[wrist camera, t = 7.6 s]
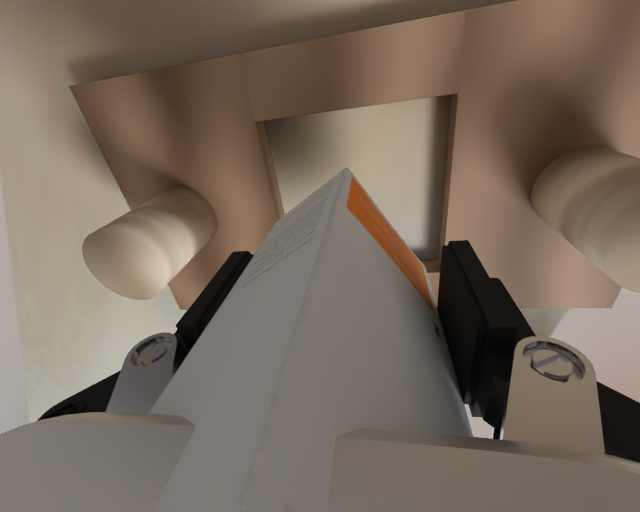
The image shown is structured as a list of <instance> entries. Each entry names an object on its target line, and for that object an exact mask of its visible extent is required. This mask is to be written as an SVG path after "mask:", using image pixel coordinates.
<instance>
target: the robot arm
mask: <svg viewBox="0 0 640 512" xmlns="http://www.w3.org/2000/svg"><path fill="white" fill-rule="evenodd" d="M253 256H254V255H253V254H251V253H250V252H249V251H235V252H233V253H232V254H231V255H230V256H229V257H228V259H227V260H226V261H225V263H224V264H223V265H222V266H221V268H220V269H219V270H218V272H217V273H216V274H215V276H214V277H213V278H212V279H211V281H210V282H209V283H208V285H207V286H206V287H205V288H204V290H203V291H202V292H201V294H200V295H199V296H198V297H197V299H196V300H195V301H194V303H193V304H192V305H191V306H190V308H189V309H188V310H187V312H186V313H185V314H184V316H183V317H182V318H181V319H180V321H179V322H178V323H177V325H176V327H177V329H178V330H177V331H176V332H175V334H171V333H159V334H155V335H152V336H150V337H147V338H146V339H144V340H142V341H141V342H139V343H138V344H137V345H135V346H134V347H133V348H132V349H131V351H130V352H129V353H128V355H127V356H126V358H125V361H124V364H123V366H122V369H121V371H119V372H117V373H115V374H113V375H111V376H109V377H107V378H106V379H104V380H102V381H100V382H98V383H96V384H94V385H92V386H90V387H88V388H86V389H84V390H83V391H81V392H79V393H77V394H75V395H73V396H71V397H69V398H67V399H65V400H63V401H62V402H60V403H58V404H57V405H55V406H53V407H52V408H50V409H49V410H48V411H47V412H45V413H44V414H43V415H42V416H41V417H40V418H39V419H38V420H37V421H36V422H33V423H30V424H27V425H23V426H20V427H17V428H15V429H13V430H10V431H7V432H5V433H2V434H0V512H153V510H154V508H155V506H156V504H157V503H158V501H159V499H160V497H161V495H162V493H163V491H164V489H165V487H166V485H167V483H168V481H169V479H170V477H171V475H172V473H173V471H174V469H175V467H176V465H177V463H178V462H179V460H180V458H181V456H182V454H183V452H184V450H185V448H186V446H187V444H188V442H189V440H190V438H191V436H192V434H193V432H194V430H195V428H196V426H195V425H194V424H193V423H192V422H190V421H189V420H187V419H185V418H184V417H182V416H180V415H165V414H148V413H149V412H150V410H151V409H152V407H153V406H154V404H155V403H156V401H157V400H158V398H159V397H160V395H161V394H162V393H163V391H164V390H165V388H166V387H167V385H168V384H169V382H170V381H171V379H172V378H173V376H174V375H175V373H176V372H177V370H178V369H179V367H180V366H181V364H182V363H183V361H184V360H185V358H186V357H187V355H188V354H189V352H190V351H191V349H192V348H193V346H194V345H195V343H196V342H197V340H198V339H199V337H200V336H201V334H202V333H203V331H204V330H205V328H206V327H207V325H208V324H209V322H210V321H211V319H212V318H213V316H214V315H215V313H216V312H217V310H218V309H219V307H220V306H221V304H222V303H223V301H224V300H225V298H226V297H227V295H228V294H229V292H230V291H231V289H232V288H233V286H234V284H235V283H236V281H237V280H238V279H239V277H240V276H241V274H242V273H243V271H244V269H245V268H246V266H247V265H248V264H249V262H250V261H251V259H252V258H253ZM437 310H438V314H439V318H440V321H441V325H442V328H443V331H444V335H445V338H446V342H447V346H448V349H449V352H450V356H451V359H452V363H453V366H454V370H455V374H456V377H457V381H458V385H459V388H460V392H461V396H462V399H463V402H464V404H469V407H470V410H471V414H472V417H483V420H484V421H485V422H487V423H488V424H490V425H491V426H492V427H493V430H492V436H491V439H488V438H478V437H467V436H456V435H443V434H430V433H417V432H404V431H391V430H378V429H365V428H361V429H358V430H354V431H351V432H348V433H345V434H343V435H340V436H337V437H336V439H335V447H334V456H333V464H332V473H331V481H330V490H329V498H328V507H327V512H640V403H639V402H636V401H635V400H633V399H631V398H629V397H627V396H625V395H623V394H621V393H619V392H617V391H615V390H613V389H611V388H609V387H607V386H605V385H603V384H601V383H599V382H597V381H596V374H595V370H594V368H593V365H592V364H591V362H590V361H589V360H588V359H587V357H586V356H585V355H584V354H582V353H581V352H580V351H579V350H577V349H576V348H574V347H572V346H570V345H568V344H567V343H565V342H562V341H559V340H556V339H553V338H548V337H543V336H536V335H535V334H534V332H533V331H532V329H531V327H530V326H529V324H528V323H527V321H526V319H525V318H524V316H523V315H522V313H521V311H520V310H519V308H518V307H517V305H516V303H515V302H514V300H513V299H512V297H511V296H510V294H509V292H508V291H507V289H506V288H505V286H504V284H503V283H502V281H501V280H500V279H499V278H490V277H489V275H488V274H487V272H486V270H485V268H484V267H483V265H482V263H481V262H480V260H479V258H478V256H477V255H476V253H475V251H474V249H473V248H472V246H471V244H470V243H469V241H468V240H459V241H449V243H448V245H443V246H442V254H441V266H440V278H439V290H438V302H437Z"/></svg>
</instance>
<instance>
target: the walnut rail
mask: <svg viewBox="0 0 640 512" xmlns="http://www.w3.org/2000/svg"><path fill="white" fill-rule="evenodd" d="M69 87H70V89H71V91H72V93H73V95H74V97H75V99H76V101H77V103H78V105H79V107H80V109H81V111H82V113H83V115H84V117H85V119H86V121H87V123H88V125H89V127H90V129H91V131H92V133H93V135H94V137H95V139H96V141H97V143H98V145H99V147H100V149H101V151H102V153H103V155H104V157H105V159H106V161H107V163H108V165H109V167H110V169H111V171H112V173H113V175H114V177H115V179H116V181H117V183H118V185H119V187H120V189H121V191H122V193H123V195H124V197H125V199H126V201H127V203H128V205H129V207H130V209H131V211H130V212H128V213H126V214H125V215H123V216H121V217H119V218H118V219H116V220H114V221H112V222H111V223H109V224H107V225H105V226H104V227H102V228H100V229H98V230H97V231H95V232H93V233H91V234H90V235H88V236H87V237H86V239H85V240H84V242H83V246H82V253H83V257H84V260H85V263H86V265H87V266H88V268H89V270H90V271H91V273H92V274H93V275H94V276H95V277H96V278H97V279H98V280H99V281H100V282H101V283H102V284H103V285H104V286H106V287H107V288H109V289H110V290H112V291H113V292H115V293H117V294H119V295H122V296H124V297H127V298H131V299H136V300H145V299H150V298H152V297H154V296H156V295H157V294H158V293H159V292H160V291H161V290H162V289H163V288H164V287H165V286H166V285H167V284H168V285H169V287H170V289H171V291H172V293H173V295H174V297H175V299H176V301H177V303H178V305H179V307H180V309H181V310H187V309H189V308H190V306H191V305H192V304H193V303H194V301H195V300H196V299H197V297H198V296H199V295H200V294H201V292H202V291H203V290H204V288H205V287H206V286H207V285H208V283H209V282H210V281H211V279H212V278H213V277H214V276H215V274H216V273H217V272H218V270H219V269H220V268H221V266H222V265H223V264H224V263H225V261H226V260H227V259H228V257H229V256H230V255H231V254H232V253H233V252H235V251H249V252H250V253H251V254H253V255H255V253H256V252H257V250H258V249H259V247H260V246H261V244H262V243H263V241H264V240H265V238H266V236H267V235H268V233H269V232H270V230H271V229H272V228H273V226H274V225H275V223H276V222H277V221H278V220H279V219H281V218H282V217H283V216H284V210H283V205H282V201H281V196H280V191H279V187H278V182H277V178H276V173H275V168H274V164H273V159H272V154H271V150H270V145H269V141H268V136H267V131H266V127H265V122H264V121H265V120H272V119H279V118H286V117H293V116H300V115H307V114H314V113H322V112H329V111H336V110H343V109H350V108H357V107H364V106H371V105H379V104H386V103H393V102H400V101H407V100H414V99H421V98H428V97H436V96H443V95H450V94H451V99H450V112H449V125H448V138H447V151H446V164H445V177H444V190H443V203H442V216H441V229H440V242H439V254H438V260H420V261H421V262H422V263H423V264H424V266H425V267H426V270H427V274H428V278H429V281H430V284H431V288H432V292H433V296H434V299H435V303H436V307H437V302H438V290H439V278H440V266H441V254H442V246H443V245H448V243H449V241H459V240H468V241H469V243H470V244H471V246H472V248H473V249H474V251H475V253H476V255H477V256H478V258H479V260H480V262H481V263H482V265H483V267H484V268H485V270H486V272H487V274H488V275H489V277H490V278H499V279H500V280H501V281H502V283H503V284H504V286H505V288H506V289H507V291H508V292H509V294H510V296H511V297H512V299H513V300H514V302H515V303H516V305H517V307H518V308H612V306H613V304H614V302H615V300H616V298H617V296H618V294H619V292H620V290H621V288H622V287H623V288H625V289H627V290H630V291H633V292H637V293H640V0H515V1H510V2H505V3H499V4H494V5H489V6H484V7H479V8H473V9H468V10H463V11H458V12H453V13H447V14H442V15H437V16H432V17H427V18H421V19H416V20H411V21H406V22H401V23H395V24H390V25H385V26H380V27H375V28H369V29H364V30H359V31H354V32H349V33H343V34H338V35H333V36H328V37H323V38H317V39H312V40H307V41H302V42H297V43H291V44H286V45H281V46H276V47H271V48H265V49H260V50H255V51H250V52H245V53H239V54H234V55H229V56H224V57H219V58H213V59H208V60H203V61H198V62H193V63H187V64H182V65H177V66H172V67H167V68H161V69H156V70H151V71H146V72H141V73H135V74H130V75H125V76H120V77H115V78H109V79H104V80H99V81H94V82H89V83H84V84H78V85H73V86H69Z"/></svg>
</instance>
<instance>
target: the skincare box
mask: <svg viewBox="0 0 640 512" xmlns="http://www.w3.org/2000/svg"><path fill="white" fill-rule="evenodd" d="M148 414H165V415H180V416H182V417H184V418H185V419H187V420H189V421H190V422H192V423H193V424H194V425H195V426H196V428H195V430H194V432H193V434H192V436H191V438H190V440H189V442H188V444H187V446H186V448H185V450H184V452H183V454H182V456H181V458H180V460H179V462H178V463H177V465H176V467H175V469H174V471H173V473H172V475H171V477H170V479H169V481H168V483H167V485H166V487H165V489H164V491H163V493H162V495H161V497H160V499H159V501H158V503H157V504H156V506H155V508H154V510H153V512H327V507H328V498H329V490H330V481H331V473H332V464H333V456H334V447H335V439H336V437H337V436H340V435H343V434H345V433H348V432H351V431H354V430H358V429H361V428H365V429H378V430H391V431H404V432H417V433H430V434H443V435H456V436H467V437H473V435H472V431H471V428H470V424H469V420H468V417H467V413H466V410H465V406H464V402H463V399H462V396H461V392H460V388H459V385H458V381H457V377H456V374H455V370H454V366H453V363H452V359H451V356H450V352H449V349H448V346H447V342H446V338H445V335H444V331H443V328H442V325H441V321H440V318H439V314H438V310H437V307H436V303H435V299H434V296H433V292H432V288H431V284H430V281H429V278H428V274H427V270H426V267H425V266H424V264H423V263H422V262H421V261H420V260H419V259H418V258H417V256H416V255H415V254H414V253H413V251H412V250H411V249H410V248H409V246H408V245H407V244H406V243H405V241H404V240H403V239H402V238H401V236H400V235H399V234H398V233H397V231H396V230H395V229H394V228H393V227H392V225H391V224H390V223H389V221H388V220H387V219H386V218H385V216H384V215H383V214H382V212H381V211H380V210H379V208H378V207H377V205H376V204H375V203H374V202H373V200H372V199H371V197H370V196H369V195H368V193H367V192H366V191H365V189H364V188H363V187H362V186H361V184H360V183H359V182H358V180H357V179H356V177H355V176H354V175H353V173H352V172H351V171H350V170H349V169H348V168H345V169H343V170H341V171H340V172H339V173H338V174H337V175H336V176H334V177H333V178H332V179H331V180H329V181H328V182H327V183H326V184H324V185H323V186H322V187H320V188H319V189H318V190H316V191H315V192H314V193H313V194H311V195H310V196H309V197H307V198H306V199H305V200H304V201H302V202H301V203H300V204H298V205H297V206H296V207H295V208H293V209H292V210H291V211H290V212H288V213H287V214H286V215H284V216H283V217H282V218H281V219H279V220H278V221H277V222H276V223H275V225H274V226H273V228H272V229H271V230H270V232H269V233H268V235H267V236H266V238H265V240H264V241H263V243H262V244H261V246H260V247H259V249H258V250H257V252H256V253H255V255H254V256H253V258H252V259H251V261H250V262H249V264H248V265H247V266H246V268H245V269H244V271H243V273H242V274H241V276H240V277H239V279H238V280H237V281H236V283H235V284H234V286H233V288H232V289H231V291H230V292H229V294H228V295H227V297H226V298H225V300H224V301H223V303H222V304H221V306H220V307H219V309H218V310H217V312H216V313H215V315H214V316H213V318H212V319H211V321H210V322H209V324H208V325H207V327H206V328H205V330H204V331H203V333H202V334H201V336H200V337H199V339H198V340H197V342H196V343H195V345H194V346H193V348H192V349H191V351H190V352H189V354H188V355H187V357H186V358H185V360H184V361H183V363H182V364H181V366H180V367H179V369H178V370H177V372H176V373H175V375H174V376H173V378H172V379H171V381H170V382H169V384H168V385H167V387H166V388H165V390H164V391H163V393H162V394H161V395H160V397H159V398H158V400H157V401H156V403H155V404H154V406H153V407H152V409H151V410H150V412H149V413H148Z"/></svg>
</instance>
